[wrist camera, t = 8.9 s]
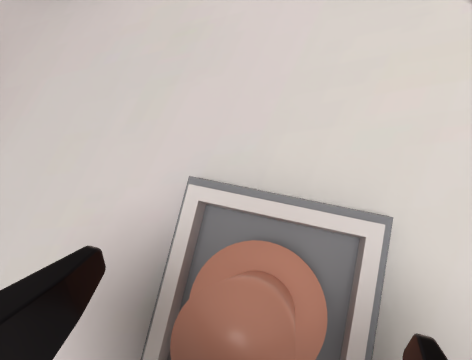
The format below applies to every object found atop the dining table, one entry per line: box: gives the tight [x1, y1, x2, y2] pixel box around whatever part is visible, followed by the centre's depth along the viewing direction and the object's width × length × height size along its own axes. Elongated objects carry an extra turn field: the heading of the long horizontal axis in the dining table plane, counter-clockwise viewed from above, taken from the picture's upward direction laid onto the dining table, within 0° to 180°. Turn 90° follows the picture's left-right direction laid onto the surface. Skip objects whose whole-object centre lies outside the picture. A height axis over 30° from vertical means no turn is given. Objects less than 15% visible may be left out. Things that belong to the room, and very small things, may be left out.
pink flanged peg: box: [170, 240, 327, 360], centre depth 14 cm, size 6×6×9 cm
